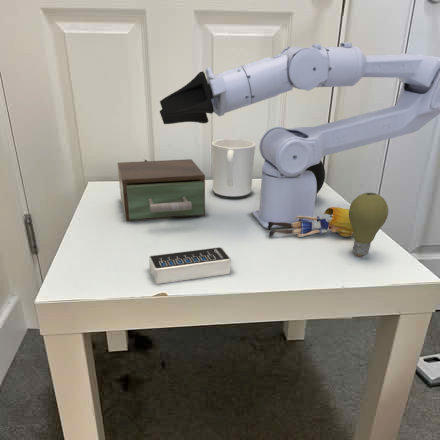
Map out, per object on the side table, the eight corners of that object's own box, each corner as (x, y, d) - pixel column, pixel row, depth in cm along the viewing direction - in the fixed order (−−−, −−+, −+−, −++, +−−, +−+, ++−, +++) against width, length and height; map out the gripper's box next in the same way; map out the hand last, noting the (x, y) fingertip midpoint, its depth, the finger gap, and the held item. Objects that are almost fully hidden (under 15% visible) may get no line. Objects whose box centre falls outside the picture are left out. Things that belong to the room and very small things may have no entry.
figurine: (270, 245, 76) (357, 241, 77) (272, 220, 73) (364, 215, 73) (266, 229, 80) (350, 225, 80) (268, 203, 76) (356, 199, 77)
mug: (214, 185, 101) (215, 137, 96) (254, 188, 100) (257, 139, 95) (206, 201, 92) (206, 149, 86) (250, 204, 91) (253, 151, 85)
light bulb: (358, 266, 68) (371, 201, 63) (334, 251, 72) (344, 190, 67) (386, 259, 70) (400, 196, 65) (360, 245, 74) (372, 185, 69)
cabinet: (204, 215, 85) (205, 175, 81) (125, 221, 81) (122, 179, 78) (192, 195, 94) (191, 159, 91) (121, 200, 91) (117, 162, 87)
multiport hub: (149, 270, 65) (148, 255, 64) (221, 260, 68) (221, 246, 67) (155, 284, 62) (154, 269, 60) (231, 273, 65) (231, 259, 64)
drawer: (209, 223, 79) (210, 191, 76) (132, 229, 76) (129, 196, 73) (192, 196, 91) (191, 167, 89) (124, 200, 88) (122, 170, 85)
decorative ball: (325, 208, 89) (332, 157, 84) (274, 207, 89) (278, 155, 84) (317, 193, 98) (323, 145, 93) (271, 191, 98) (274, 144, 93)
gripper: (229, 71, 76) (153, 96, 76) (245, 43, 62) (152, 74, 62) (242, 114, 78) (167, 139, 77) (260, 96, 64) (170, 126, 63)
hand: (161, 113), depth 70 cm, fingers open, 7 cm apart
